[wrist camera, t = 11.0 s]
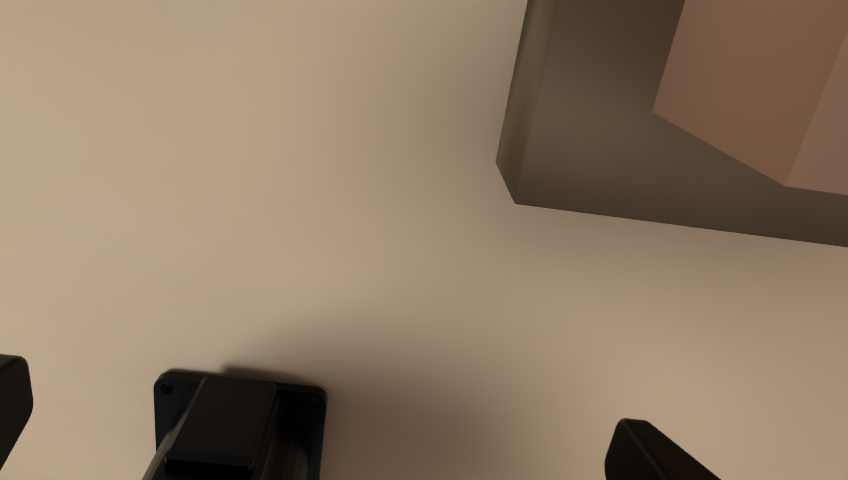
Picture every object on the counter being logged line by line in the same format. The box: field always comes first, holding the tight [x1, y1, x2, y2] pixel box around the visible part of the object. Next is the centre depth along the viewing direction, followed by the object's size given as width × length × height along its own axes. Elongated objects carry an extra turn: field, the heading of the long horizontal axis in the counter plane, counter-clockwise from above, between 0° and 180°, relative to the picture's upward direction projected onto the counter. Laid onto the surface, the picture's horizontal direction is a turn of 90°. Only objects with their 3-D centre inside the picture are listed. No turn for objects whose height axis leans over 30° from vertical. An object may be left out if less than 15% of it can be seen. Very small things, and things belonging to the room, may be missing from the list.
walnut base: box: [496, 0, 848, 247], centre depth 16 cm, size 12×12×4 cm
